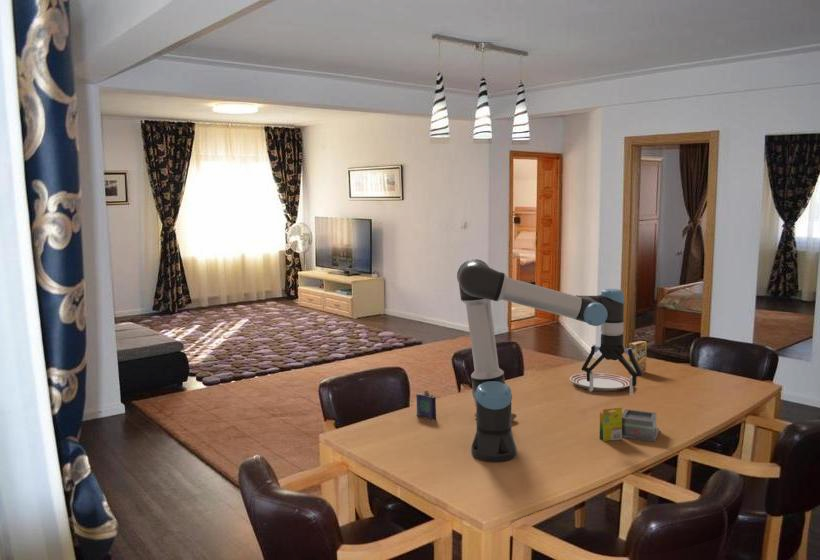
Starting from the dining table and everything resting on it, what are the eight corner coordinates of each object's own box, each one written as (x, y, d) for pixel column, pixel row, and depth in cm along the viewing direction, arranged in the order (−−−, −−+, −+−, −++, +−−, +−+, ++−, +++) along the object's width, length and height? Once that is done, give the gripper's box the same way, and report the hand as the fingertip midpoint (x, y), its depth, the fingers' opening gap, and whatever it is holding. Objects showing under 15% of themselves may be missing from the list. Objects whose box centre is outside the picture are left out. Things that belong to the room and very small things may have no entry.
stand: (655, 442, 226) (655, 423, 225) (616, 436, 232) (617, 418, 231) (659, 430, 237) (659, 412, 236) (622, 425, 243) (622, 407, 242)
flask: (415, 415, 258) (415, 389, 257) (419, 413, 260) (419, 387, 259) (433, 420, 252) (433, 393, 251) (438, 418, 255) (438, 391, 253)
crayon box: (618, 436, 231) (619, 405, 230) (622, 439, 228) (623, 407, 227) (598, 438, 230) (599, 406, 229) (602, 441, 227) (603, 409, 226)
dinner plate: (582, 375, 315) (582, 368, 314) (639, 383, 299) (640, 376, 298) (560, 388, 293) (560, 381, 292) (620, 398, 277) (620, 391, 276)
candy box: (635, 375, 313) (636, 344, 311) (627, 373, 316) (628, 342, 314) (646, 372, 318) (647, 341, 316) (638, 370, 321) (639, 340, 319)
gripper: (651, 334, 223) (649, 393, 225) (578, 329, 234) (577, 386, 236) (648, 338, 216) (647, 399, 219) (573, 332, 227) (573, 391, 230)
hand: (611, 392), depth 227 cm, fingers open, 13 cm apart
